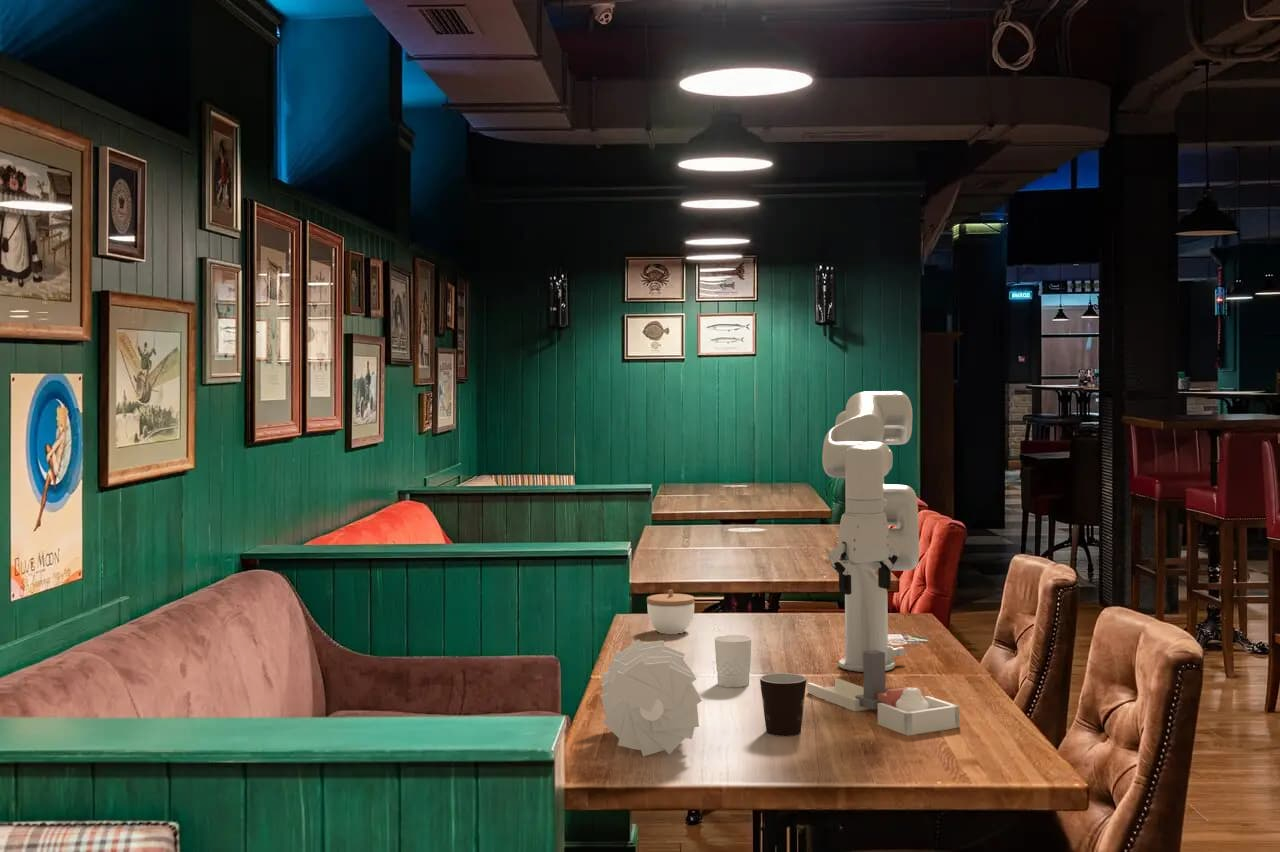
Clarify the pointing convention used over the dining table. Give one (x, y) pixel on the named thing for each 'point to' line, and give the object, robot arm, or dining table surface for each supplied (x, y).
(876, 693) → the block
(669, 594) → the lidded bowl
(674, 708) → the spiral staircase
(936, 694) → the dining table surface
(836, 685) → the track
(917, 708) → the white ribbed dome
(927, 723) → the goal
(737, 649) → the white cup
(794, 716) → the coffee mug
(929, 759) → the dining table surface
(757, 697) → the dining table surface
